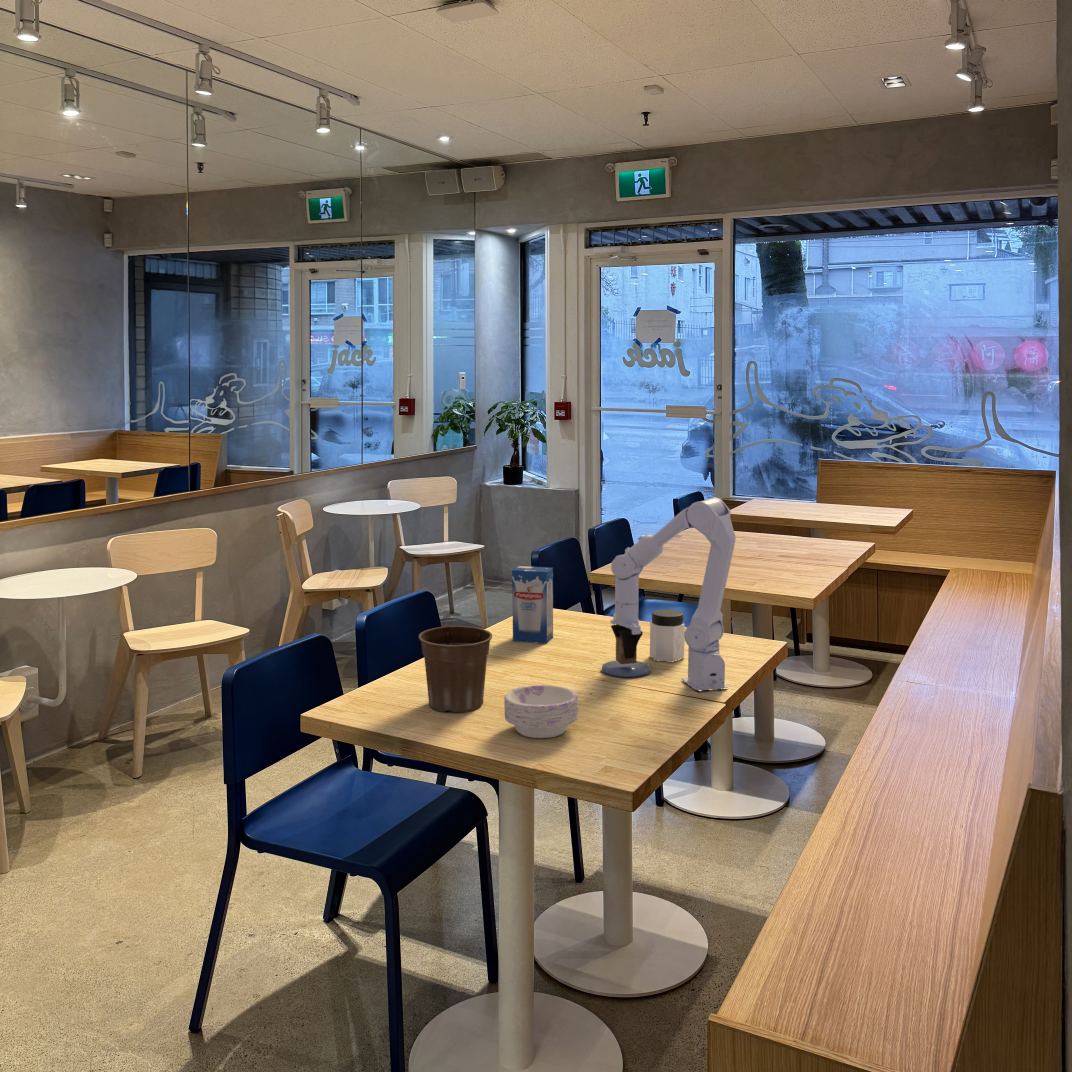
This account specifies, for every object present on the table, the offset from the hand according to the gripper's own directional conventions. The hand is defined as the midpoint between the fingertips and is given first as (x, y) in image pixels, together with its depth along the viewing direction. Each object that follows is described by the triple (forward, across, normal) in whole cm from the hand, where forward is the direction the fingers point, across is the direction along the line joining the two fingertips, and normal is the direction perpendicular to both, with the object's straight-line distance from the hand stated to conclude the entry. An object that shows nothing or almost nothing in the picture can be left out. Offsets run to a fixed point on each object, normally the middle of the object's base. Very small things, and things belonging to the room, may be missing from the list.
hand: (626, 655), depth 246 cm
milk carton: (+4, -35, -15) cm, 38 cm away
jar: (+4, -8, +14) cm, 17 cm away
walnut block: (+2, 0, 0) cm, 2 cm away
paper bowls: (+4, +35, -31) cm, 47 cm away
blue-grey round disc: (+4, 0, 0) cm, 4 cm away
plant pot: (+4, +14, -45) cm, 47 cm away
